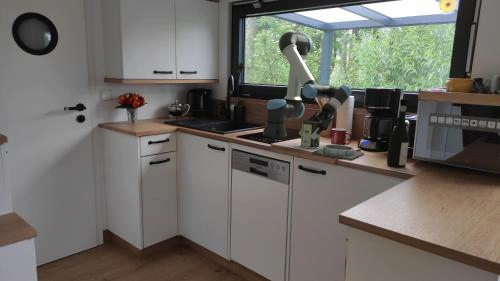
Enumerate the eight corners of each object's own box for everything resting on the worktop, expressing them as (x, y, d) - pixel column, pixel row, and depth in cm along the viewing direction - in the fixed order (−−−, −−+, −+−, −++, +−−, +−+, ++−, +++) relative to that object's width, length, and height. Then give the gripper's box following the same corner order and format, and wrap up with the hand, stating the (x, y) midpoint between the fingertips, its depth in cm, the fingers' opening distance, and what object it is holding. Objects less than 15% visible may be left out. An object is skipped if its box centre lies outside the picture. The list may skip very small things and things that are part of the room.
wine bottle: (407, 166, 165) (415, 99, 160) (403, 169, 158) (412, 100, 153) (388, 163, 169) (396, 98, 164) (384, 165, 163) (392, 98, 158)
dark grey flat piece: (327, 148, 198) (327, 142, 197) (364, 154, 187) (364, 147, 186) (312, 153, 181) (312, 147, 181) (351, 160, 170) (352, 153, 170)
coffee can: (319, 146, 204) (321, 121, 202) (319, 149, 194) (321, 123, 192) (300, 144, 206) (302, 119, 204) (299, 147, 196) (301, 121, 194)
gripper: (348, 114, 195) (323, 144, 190) (321, 110, 214) (297, 137, 209) (341, 104, 191) (315, 135, 186) (314, 101, 211) (290, 128, 206)
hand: (306, 136), depth 198 cm, fingers closed on coffee can, 10 cm apart
